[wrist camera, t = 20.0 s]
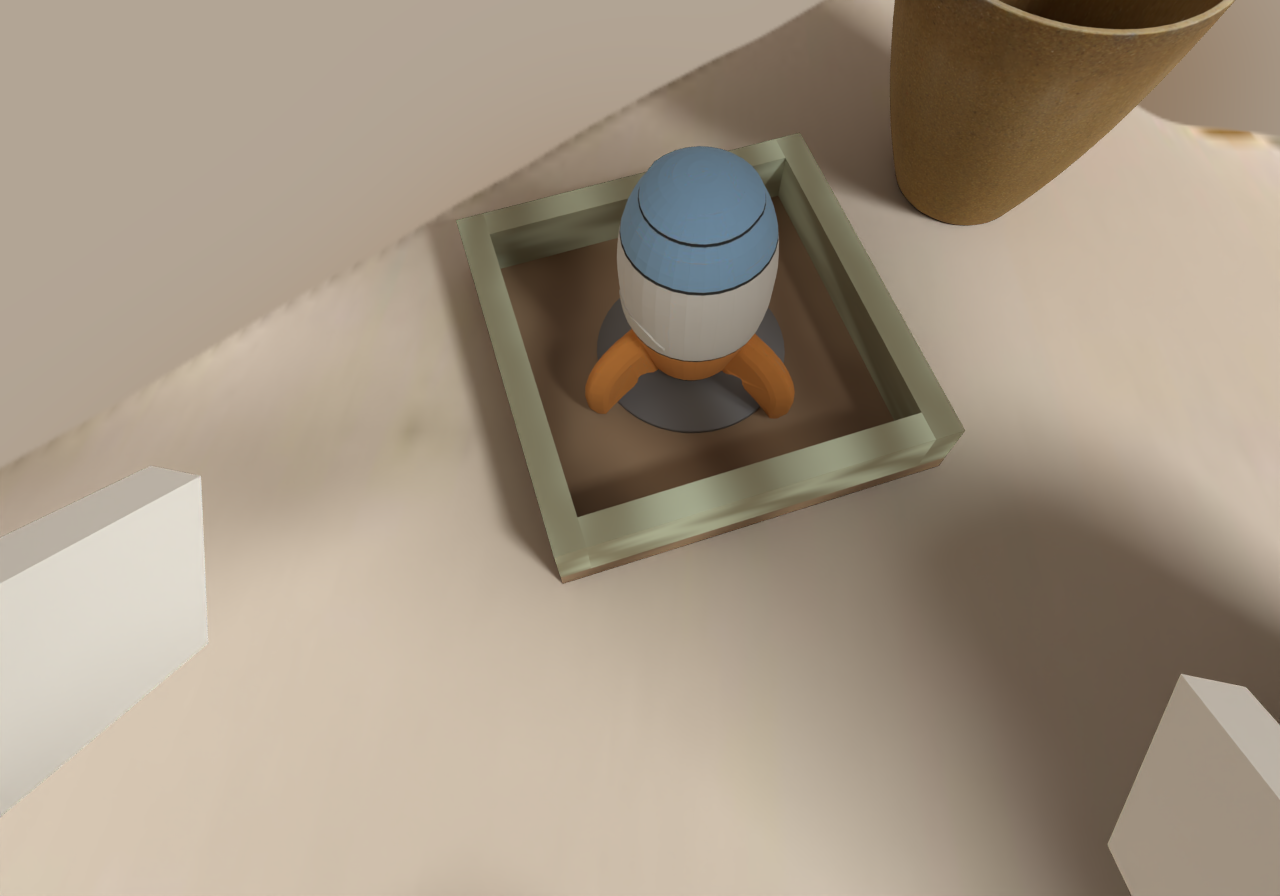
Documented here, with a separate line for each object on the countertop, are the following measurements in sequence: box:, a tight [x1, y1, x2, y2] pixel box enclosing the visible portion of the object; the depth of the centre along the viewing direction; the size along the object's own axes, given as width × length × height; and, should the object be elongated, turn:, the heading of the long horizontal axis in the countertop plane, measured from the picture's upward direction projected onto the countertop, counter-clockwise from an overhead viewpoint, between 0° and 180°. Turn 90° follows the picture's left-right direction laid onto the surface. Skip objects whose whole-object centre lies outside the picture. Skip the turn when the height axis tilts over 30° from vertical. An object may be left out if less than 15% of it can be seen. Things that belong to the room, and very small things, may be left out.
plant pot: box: [890, 0, 1235, 225], centre depth 44 cm, size 15×15×16 cm
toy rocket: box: [585, 146, 795, 419], centre depth 39 cm, size 10×11×15 cm
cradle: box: [456, 133, 965, 584], centre depth 44 cm, size 20×20×4 cm
